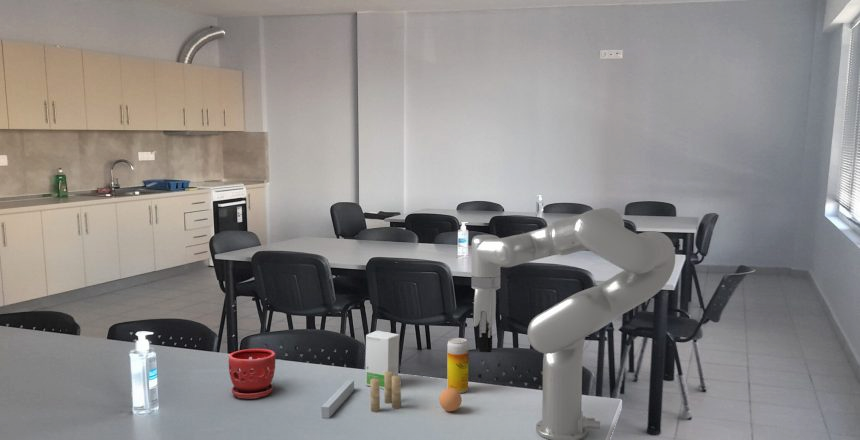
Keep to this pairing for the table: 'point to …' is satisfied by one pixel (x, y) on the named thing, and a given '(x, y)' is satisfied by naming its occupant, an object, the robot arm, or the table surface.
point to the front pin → (396, 392)
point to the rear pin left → (375, 395)
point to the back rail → (337, 399)
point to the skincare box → (381, 356)
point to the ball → (450, 399)
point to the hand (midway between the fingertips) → (485, 350)
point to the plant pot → (252, 372)
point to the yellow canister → (457, 364)
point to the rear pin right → (388, 386)
